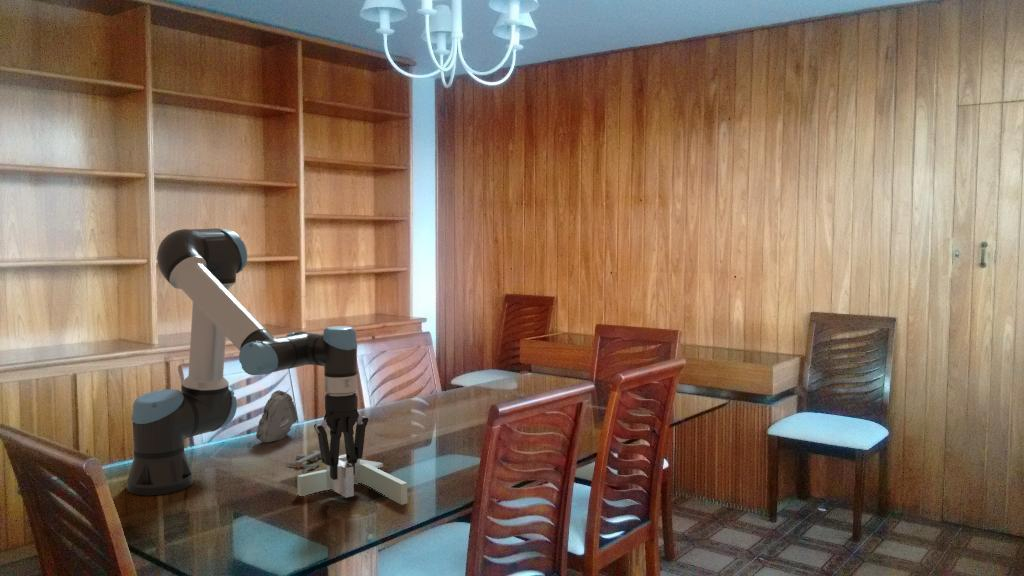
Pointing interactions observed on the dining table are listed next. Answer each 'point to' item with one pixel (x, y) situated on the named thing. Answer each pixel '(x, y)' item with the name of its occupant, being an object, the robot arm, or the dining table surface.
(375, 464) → the hard drive
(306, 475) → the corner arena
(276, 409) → the decorative rock
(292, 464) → the clamp
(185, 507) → the dining table surface
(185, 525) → the dining table surface
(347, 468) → the bracket
